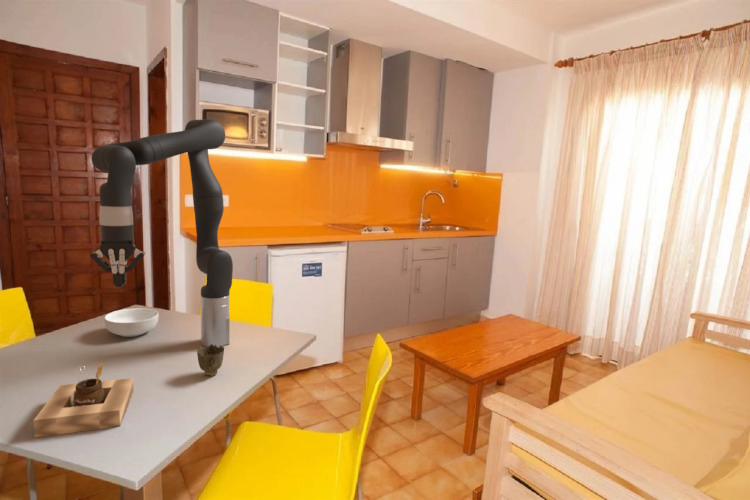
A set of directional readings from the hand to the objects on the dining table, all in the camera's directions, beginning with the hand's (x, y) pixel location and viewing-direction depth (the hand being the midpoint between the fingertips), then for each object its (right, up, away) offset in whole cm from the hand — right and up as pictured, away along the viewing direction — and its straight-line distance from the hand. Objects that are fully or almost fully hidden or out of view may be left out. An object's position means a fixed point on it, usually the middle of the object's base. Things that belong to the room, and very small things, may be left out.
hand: (119, 286), depth 113 cm
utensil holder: (+1, -29, -13) cm, 32 cm away
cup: (+21, -27, +10) cm, 36 cm away
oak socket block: (0, -29, -13) cm, 32 cm away
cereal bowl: (-18, -20, +37) cm, 46 cm away
